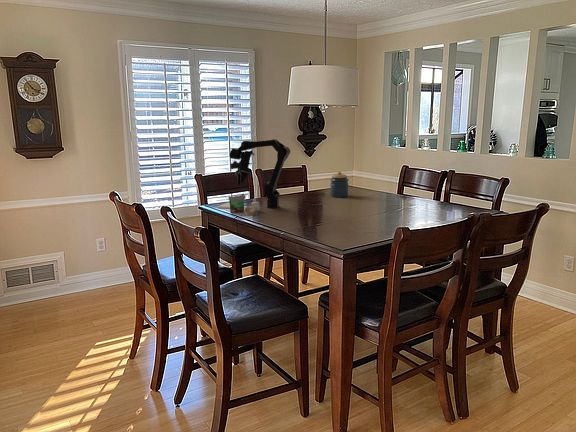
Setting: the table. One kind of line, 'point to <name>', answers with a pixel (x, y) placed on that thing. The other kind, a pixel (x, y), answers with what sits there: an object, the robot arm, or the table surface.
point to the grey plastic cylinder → (255, 205)
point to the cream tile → (226, 206)
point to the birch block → (249, 210)
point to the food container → (237, 203)
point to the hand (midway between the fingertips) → (239, 184)
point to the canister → (339, 185)
